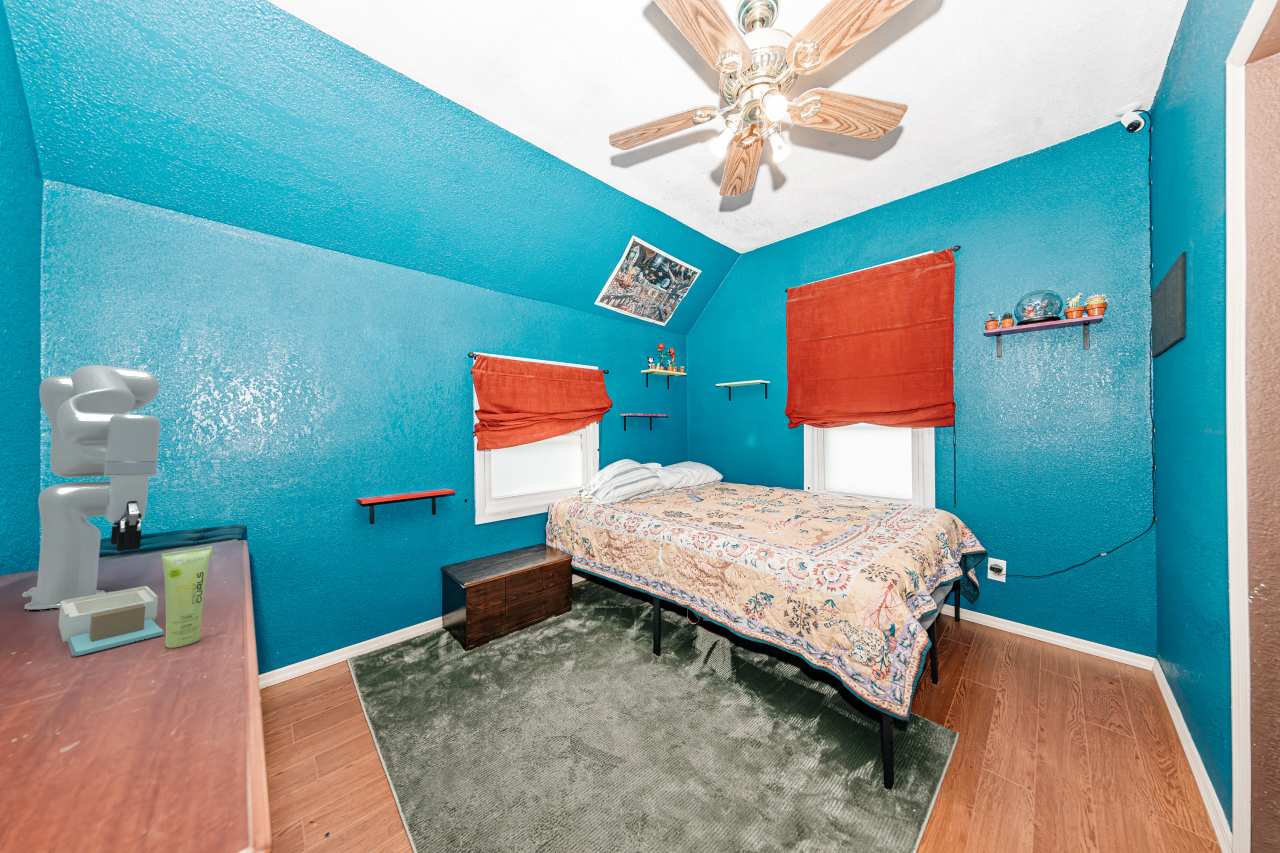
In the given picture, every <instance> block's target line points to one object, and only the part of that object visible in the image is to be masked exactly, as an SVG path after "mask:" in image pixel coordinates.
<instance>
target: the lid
mask: <svg viewBox="0 0 1280 853" xmlns="http://www.w3.org/2000/svg"><path fill="white" fill-rule="evenodd" d="M144 618H145V606H144V605H143V604H139V605H134V606H129V607H124V608H119V609H114V610H109V611H104V612H99V613H94V614H91V625H90V633H85V634H81V635H76V636H72V637H69V642H70V644H71V646H72V648H73V651H74V653H75V655H76V656H75V657H78V656H82V655H86V654H90V653H94V652H99V651H104V650H106V649H110V648H111V647H112V648H114V647H115V646H116V647H118V646H119V645H120V646H123V644H124V645H128V644H130V643H131V642H132V643H135V641H136V642H140V641H144V639H145V640H147V639H148V638H149V639H152V637H153V638H156V636H157V637H159V636H160V635H161V636H163V633H164V630H163V629H162V628H161V626H159V625H158V624H157V623H156V622H154V621H153V620H152V619H149V620H144ZM161 636H160V637H161ZM139 640H140V641H139ZM127 643H128V644H127ZM120 646H119V647H120Z"/></svg>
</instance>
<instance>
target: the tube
mask: <svg viewBox="0 0 1280 853" xmlns="http://www.w3.org/2000/svg"><path fill="white" fill-rule="evenodd" d="M213 549H214V547H213V546H206V547H200V548H199V547H198V548H194V549H185V550H180V551H173V552H166V553H165V552H164V553H161V556H160V557H161V562H162V570H163V579H164V592H165V593H164V594H165V595H164V596H165V647H166V648H169V649H172V648H179V647H184V646H188V645H191V644H194V643H196V642H197V641H199V640H200V639H201V632H202V618H203V610H204V602H205V600H204V599H205V594H206V593H205V592H206V585H207V579H208V571H209V567H210V561H211V557H212V554H213Z"/></svg>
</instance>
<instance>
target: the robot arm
mask: <svg viewBox="0 0 1280 853" xmlns="http://www.w3.org/2000/svg"><path fill="white" fill-rule="evenodd" d="M40 383H41V384H40V385H39V393H38V394H39V401H40V404H41V407H42V410H43V411H44V413H45V415H46V418H48V421H49V424H50V427H51V428H50V429H51V436H50V455H49V456H50V457H49V458H50V459H49V462H50V463H49V465H50V466H49V467H50V471H51V472H52V473H53V475H55V476H57V477H62V478H99V477H101V478H103V477H107V478H110V480H109V481H79V482H65V483H58V484H53V485H50V486H48V487H46V488H44V489H43V490H42V491H41V492H40V493H39V494H38V495H39V496H38V501H37V502H38V510H39V516H40V523H41V524H40V525H41V526H40V527H41V533H40V550H39V561H38V562H39V563H38V571H37V584H36V586H34V587H31V588H29V589H28V591H23V593H21V597H22V598H28V597H29V598H31V601H30V602H27V603H26V604H24V610H25V609H46V608H55V607H60V601H63V600H68V599H74V598H80V597H86V596H91V595H97V594H103V593H106V591H105V590H99V589H97V586H98V575H99V562H100V561H99V560H100V550H101V549H100V548H101V539H102V537H101V536H102V535H101V531H100V529H99V528H98V527H97V526H95V524H93V523H91V522H90V521H88V518H89V519H90V518H95V517H105V519H106V520H107V521H108V522H110V523H111V524H113V525H112V526H111V535H110V537H111V538H110V544H111V545H116V551H117V552H124V551H125V552H126V551H132V550H133V551H134V550H138V549H141V542H142V529H141V528H142V526H141V521H142V520H143V519H145V517H146V510H147V504H148V493H149V478H150V477H154V476H157V472H158V461H159V460H158V458H159V446H160V434H161V420H160V418H159V417H157V416H154V415H147V414H128V413H129V412H137V411H139V410H141V409H143V408H144V407H145V406H147V405H149V404H150V403H151V402H152V401H153V400H155V399H156V397H158V394H159V391H160V382H159V379H158V378H157V377H156V375H154V374H153V373H152V372H150V371H147V370H145V369H138V368H137V369H135V368H129V367H120V366H119V367H118V366H111V365H103V364H102V365H101V364H90V365H89V364H88V365H84V366H80V367H79V368H76V369H75V370H74V371H73V372H72V374H71V376H65V375H61V376H52V377H47V378H45V379H44V380H42V382H40Z"/></svg>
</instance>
